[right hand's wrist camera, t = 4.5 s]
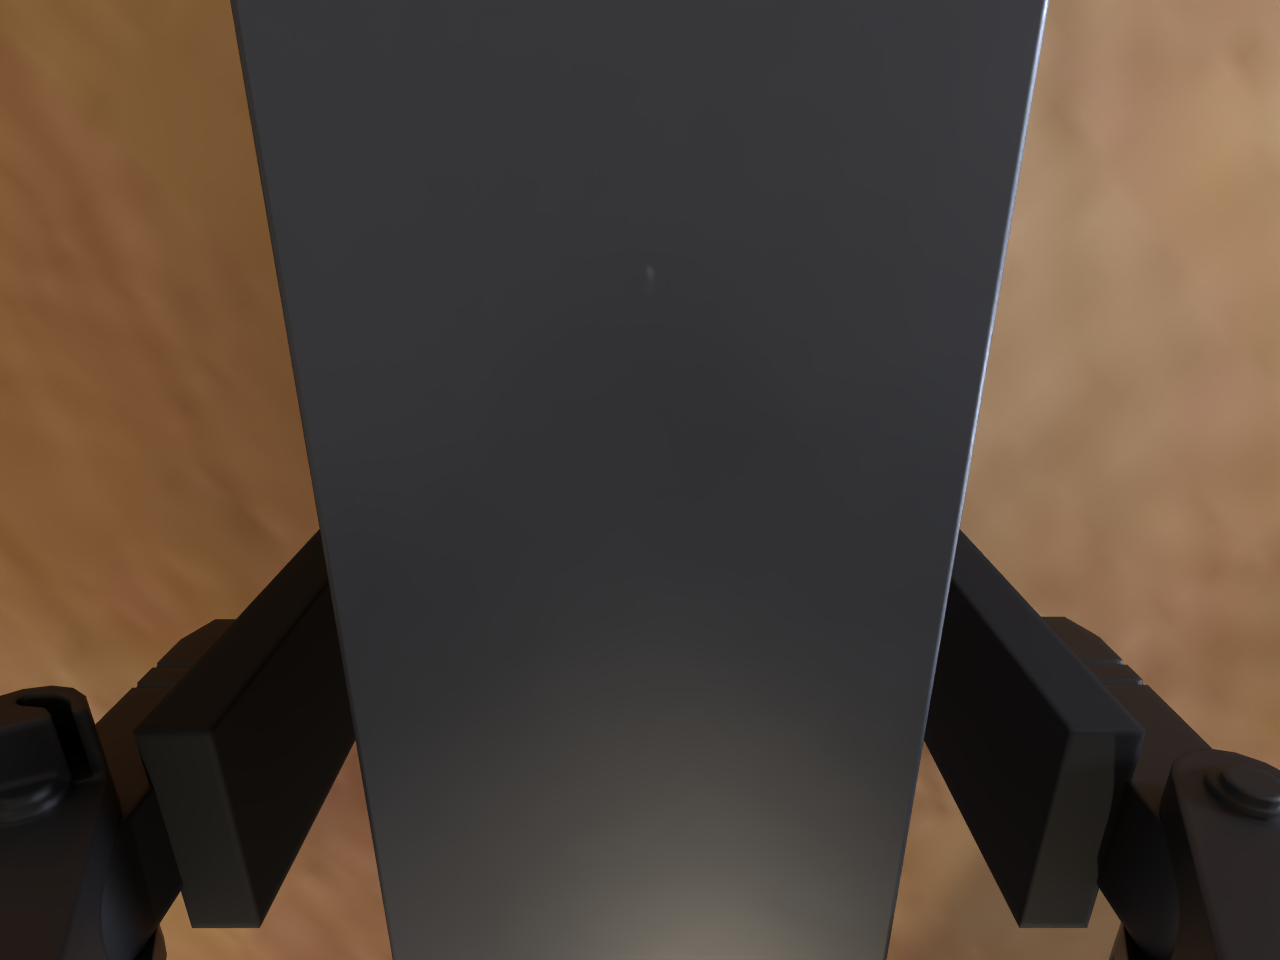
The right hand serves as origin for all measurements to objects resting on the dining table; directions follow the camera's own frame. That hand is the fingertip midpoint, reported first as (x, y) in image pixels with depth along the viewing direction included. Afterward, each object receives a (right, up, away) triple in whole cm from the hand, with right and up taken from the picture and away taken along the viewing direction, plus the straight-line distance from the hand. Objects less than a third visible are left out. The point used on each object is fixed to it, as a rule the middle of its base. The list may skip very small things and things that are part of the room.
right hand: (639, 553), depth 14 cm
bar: (0, +9, -3) cm, 9 cm away
